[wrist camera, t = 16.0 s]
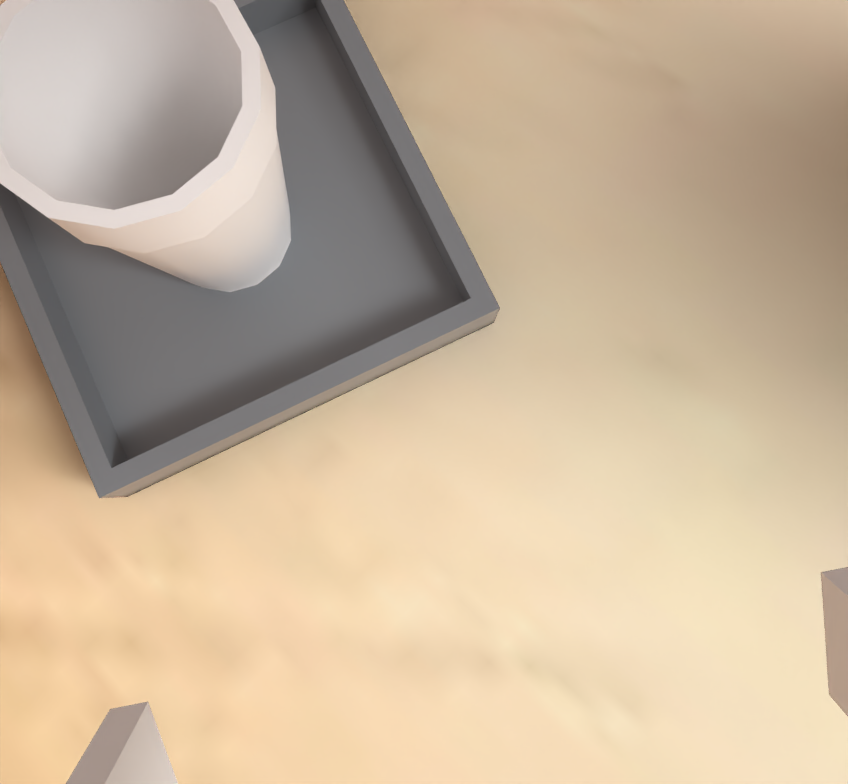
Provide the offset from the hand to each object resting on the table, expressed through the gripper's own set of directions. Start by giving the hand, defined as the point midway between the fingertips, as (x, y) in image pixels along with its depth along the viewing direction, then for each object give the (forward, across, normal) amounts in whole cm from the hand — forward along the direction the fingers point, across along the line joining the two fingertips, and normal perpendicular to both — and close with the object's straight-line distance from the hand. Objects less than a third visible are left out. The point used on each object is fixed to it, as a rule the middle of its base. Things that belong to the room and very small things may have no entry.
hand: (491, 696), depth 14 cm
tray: (+26, -9, +10) cm, 29 cm away
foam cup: (+25, -9, +10) cm, 28 cm away
